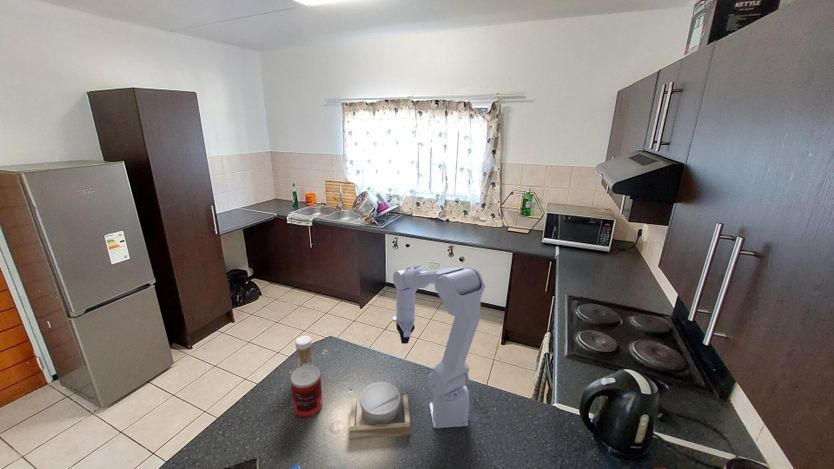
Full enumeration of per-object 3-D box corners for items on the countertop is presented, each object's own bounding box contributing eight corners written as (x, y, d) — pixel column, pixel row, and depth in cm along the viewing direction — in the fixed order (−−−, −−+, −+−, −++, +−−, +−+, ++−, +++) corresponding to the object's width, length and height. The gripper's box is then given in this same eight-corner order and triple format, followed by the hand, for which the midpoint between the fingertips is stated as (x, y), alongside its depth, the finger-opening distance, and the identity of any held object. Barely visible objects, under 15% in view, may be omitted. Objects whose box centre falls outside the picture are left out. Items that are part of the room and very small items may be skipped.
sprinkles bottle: (310, 381, 99) (307, 345, 94) (296, 380, 99) (292, 343, 95) (316, 370, 103) (313, 335, 99) (302, 369, 103) (298, 334, 99)
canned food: (312, 391, 95) (309, 360, 92) (328, 405, 90) (326, 374, 87) (288, 407, 89) (284, 375, 86) (304, 423, 85) (300, 390, 81)
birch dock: (352, 406, 90) (352, 398, 89) (407, 402, 92) (407, 394, 91) (349, 439, 81) (349, 430, 80) (410, 435, 83) (410, 426, 82)
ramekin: (389, 435, 82) (389, 420, 81) (352, 421, 86) (351, 406, 84) (406, 402, 92) (406, 388, 91) (372, 391, 96) (371, 377, 94)
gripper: (391, 294, 105) (391, 329, 110) (393, 319, 92) (393, 358, 96) (413, 293, 106) (412, 328, 110) (418, 318, 93) (416, 357, 97)
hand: (404, 342), depth 103 cm, fingers closed
